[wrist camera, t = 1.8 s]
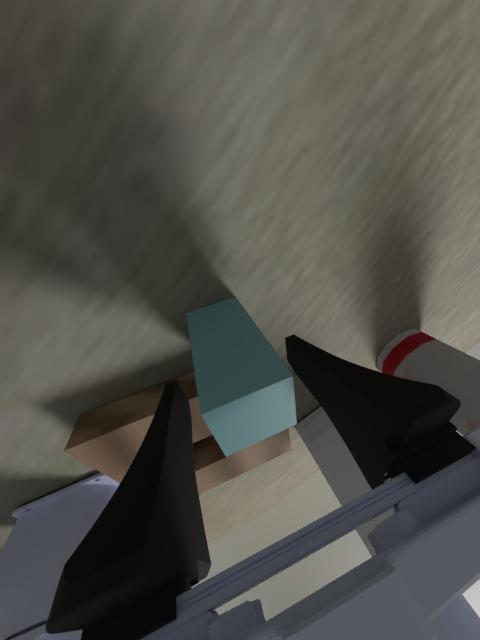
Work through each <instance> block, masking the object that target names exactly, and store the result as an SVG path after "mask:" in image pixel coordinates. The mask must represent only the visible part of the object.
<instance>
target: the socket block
mask: <svg viewBox="0 0 480 640" xmlns="http://www.w3.org/2000/svg"><path fill="white" fill-rule="evenodd" d="M174 380H177V382H178V383H179V385H180V387H181V388H182V390H183V392H184V393H185V395H186V396H187V398H188V400H189V405H190V411H191V419H192V438H193V443H195V442H197V441H199V440H202V439H204V438H206V437H208V436H211V435H213V434H212V433H211V431H210V429H209V428H208V426H207V424H206V423H205V421H204V419H203V418H202V416H201V414H200V407H199V400H198V393H197V386H196V379H195V372H194V371H193V372H190V373H188V374H185V375H182V376H180V377H177V378H175V379H172V380H169V381H167V382H164V383H162V384H159V385H156V386H154V387H151V388H149V389H146V390H143V391H141V392H138V393H136V394H133V395H130V396H128V397H125V398H123V399H120V400H117V401H115V402H112V403H110V404H107V405H104V406H102V407H99V408H97V409H94V410H91V411H89V412H86V413H84V414H81V415H80V416H79V418H78V420H77V423H76V425H75V427H74V430H73V432H72V434H71V436H70V439H69V441H68V443H67V445H66V448H65V450H64V451H66V452H67V453H69V454H71V455H72V456H74V457H76V458H77V459H79V460H81V461H82V462H84V463H86V464H87V465H89V466H91V467H93V468H94V469H96V470H98V471H99V472H101V473H103V474H104V475H106V476H108V477H109V478H111V479H113V480H114V481H116V482H118V483H121V481H122V479H123V478H124V476H125V474H126V472H127V471H128V469H129V467H130V465H131V463H132V462H133V460H134V458H135V456H136V454H137V452H138V450H139V448H140V446H141V444H142V442H143V440H144V438H145V435H146V433H147V431H148V429H149V427H150V424H151V422H152V419H153V417H154V414H155V412H156V409H157V407H158V404H159V401H160V399H161V396H162V393H163V390H164V387H165V385H166V383H169V382H171V381H174ZM290 450H291V445H290V437H289V429H288V428H287V429H285V430H283V431H281V432H279V433H277V434H275V435H272V436H270V437H268V438H266V439H264V440H262V441H259V442H257V443H255V444H253V445H251V446H249V447H247V448H244V449H242V450H240V451H238V452H236V453H234V454H231V455H229V456H227V457H226V456H225V454H224V453H223V451H222V449H221V448H220V446H219V444H218V443H217V441H216V439H215V438H214V436H211V437H209V438H207V439H204V440H202V441H200V442H198V443H195V444H193V458H194V467H195V474H196V482H197V488H198V495H199V494H201V493H203V492H205V491H207V490H209V489H211V488H213V487H215V486H217V485H220V484H222V483H224V482H226V481H228V480H230V479H232V478H234V477H236V476H238V475H240V474H242V473H244V472H246V471H249V470H251V469H253V468H255V467H257V466H259V465H261V464H263V463H265V462H267V461H269V460H271V459H273V458H276V457H278V456H280V455H282V454H284V453H286V452H288V451H290Z"/></svg>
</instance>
